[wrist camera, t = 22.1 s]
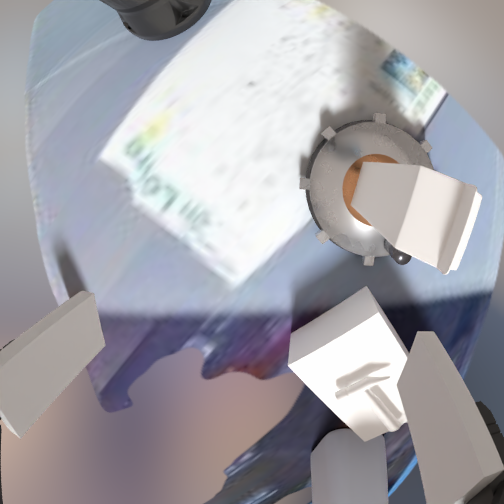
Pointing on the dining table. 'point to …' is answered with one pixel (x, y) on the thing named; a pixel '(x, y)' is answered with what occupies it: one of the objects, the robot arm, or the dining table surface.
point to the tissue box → (353, 364)
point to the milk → (418, 210)
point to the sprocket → (345, 180)
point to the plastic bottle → (349, 469)
